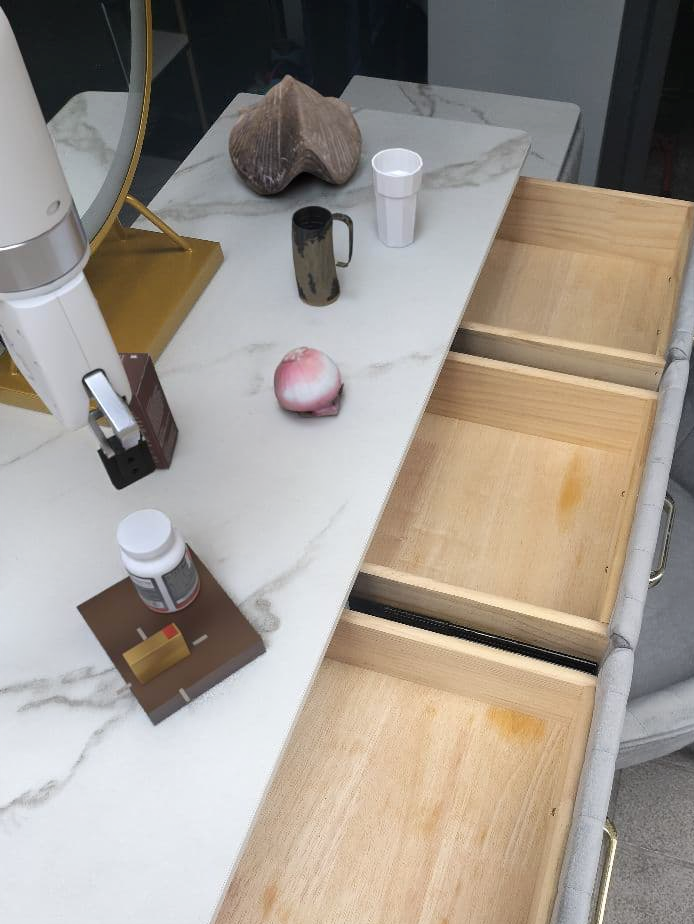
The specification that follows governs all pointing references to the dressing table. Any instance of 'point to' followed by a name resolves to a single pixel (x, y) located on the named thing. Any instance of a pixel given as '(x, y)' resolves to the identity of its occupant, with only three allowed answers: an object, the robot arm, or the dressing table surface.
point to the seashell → (294, 138)
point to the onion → (308, 382)
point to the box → (150, 407)
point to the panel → (203, 628)
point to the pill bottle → (157, 561)
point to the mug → (317, 254)
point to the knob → (157, 653)
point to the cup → (396, 194)
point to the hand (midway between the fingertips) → (104, 438)
